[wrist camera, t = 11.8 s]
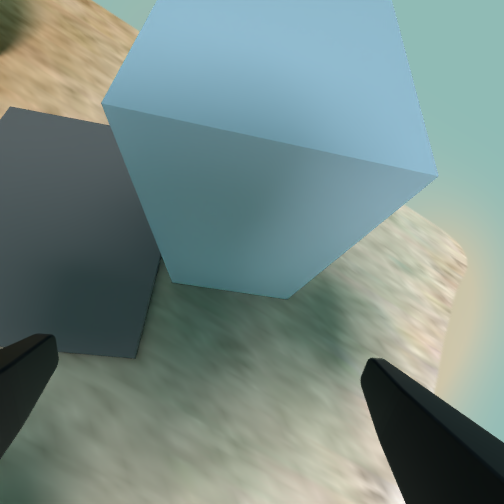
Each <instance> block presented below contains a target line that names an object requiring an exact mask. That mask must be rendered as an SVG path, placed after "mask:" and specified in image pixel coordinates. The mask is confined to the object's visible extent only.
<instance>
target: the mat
mask: <svg viewBox="0 0 504 504" xmlns="http://www.w3.org/2000/svg"><path fill="white" fill-rule="evenodd" d="M160 260H161V253H160V250H159V248H158V245H157V243H156V240H155V238H154V235H153V233H152V230H151V228H150V225H149V223H148V220H147V218H146V215H145V213H144V210H143V208H142V205H141V202H140V200H139V197H138V195H137V192H136V190H135V187H134V185H133V182H132V180H131V177H130V175H129V172H128V170H127V167H126V165H125V162H124V160H123V157H122V154H121V152H120V149H119V147H118V144H117V142H116V139H115V137H114V134H113V132H112V129H111V127H110V126H109V125H104V124H99V123H94V122H89V121H83V120H78V119H73V118H68V117H62V116H57V115H52V114H47V113H41V112H36V111H31V110H26V109H21V108H15V107H9V109H8V110H7V111H6V113H5V114H4V115H3V117H2V118H1V120H0V347H6V346H9V345H11V344H13V343H15V342H18V341H20V340H22V339H24V338H26V337H29V336H31V335H33V334H36V333H43V334H52V335H54V336H55V337H56V342H57V349H58V352H67V353H78V354H89V355H100V356H112V357H123V358H134V359H136V355H137V351H138V347H139V343H140V339H141V335H142V331H143V327H144V323H145V319H146V315H147V311H148V307H149V303H150V299H151V295H152V291H153V287H154V283H155V279H156V275H157V272H158V268H159V264H160Z"/></svg>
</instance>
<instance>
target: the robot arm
mask: <svg viewBox="0 0 504 504" xmlns="http://www.w3.org/2000/svg"><path fill="white" fill-rule="evenodd" d="M58 360H59V357H58V349H57V342H56V337H55V336H54V335H52V334H43V333H36V334H33V335H31V336H29V337H26V338H24V339H22V340H20V341H18V342H15V343H13V344H11V345H9V346H6V347H4V348H2V349H0V459H1V457H2V456H3V454H4V453H5V452H6V450H7V449H8V447H9V446H10V444H11V443H12V441H13V440H14V438H15V437H16V435H17V434H18V432H19V431H20V429H21V428H22V426H23V425H24V423H25V421H26V420H27V418H28V416H29V415H30V413H31V411H32V409H33V408H34V406H35V404H36V402H37V401H38V399H39V397H40V395H41V394H42V392H43V390H44V388H45V387H46V385H47V383H48V381H49V380H50V378H51V376H52V374H53V373H54V371H55V369H56V367H57V365H58ZM361 387H362V390H363V393H364V396H365V399H366V402H367V405H368V408H369V411H370V414H371V418H372V421H373V424H374V427H375V430H376V433H377V436H378V438H379V441H380V444H381V446H382V449H383V451H384V453H385V456H386V458H387V461H388V463H389V465H390V468H391V470H392V472H393V475H394V477H395V479H396V482H397V484H398V487H399V489H400V491H401V494H402V496H403V498H404V501H405V503H406V504H504V443H503V442H502V441H500V440H499V439H498V438H496V437H495V436H493V435H492V434H490V433H489V432H488V431H486V430H485V429H483V428H482V427H480V426H479V425H478V424H476V423H475V422H473V421H472V420H470V419H469V418H468V417H466V416H465V415H463V414H461V413H460V412H459V411H458V410H456V409H454V408H453V407H451V406H450V405H449V404H448V403H446V402H445V401H443V400H442V399H440V398H439V397H438V396H436V395H435V394H433V393H432V392H430V391H429V390H428V389H426V388H425V387H423V386H422V385H420V384H419V383H418V382H416V381H415V380H413V379H412V378H410V377H409V376H408V375H406V374H405V373H403V372H402V371H400V370H399V369H398V368H396V367H395V366H393V365H392V364H390V363H389V362H388V361H386V360H385V359H382V358H370V359H368V361H367V363H366V366H365V368H364V371H363V373H362V376H361Z"/></svg>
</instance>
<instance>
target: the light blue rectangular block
mask: <svg viewBox="0 0 504 504" xmlns="http://www.w3.org/2000/svg"><path fill="white" fill-rule="evenodd" d="M101 104H102V106H103V109H104V112H105V114H106V117H107V119H108V122H109V124H110V127H111V129H112V132H113V134H114V137H115V139H116V142H117V144H118V147H119V149H120V152H121V154H122V157H123V160H124V162H125V165H126V167H127V170H128V172H129V175H130V177H131V180H132V182H133V185H134V187H135V190H136V192H137V195H138V197H139V200H140V202H141V205H142V208H143V210H144V213H145V215H146V218H147V220H148V223H149V225H150V228H151V230H152V233H153V235H154V238H155V240H156V243H157V245H158V248H159V250H160V253H161V256H162V258H163V261H164V263H165V266H166V268H167V271H168V273H169V276H170V278H171V281H172V283H179V284H186V285H193V286H199V287H206V288H213V289H220V290H226V291H233V292H240V293H247V294H254V295H260V296H267V297H274V298H281V299H288V298H289V297H291V296H292V295H293V294H294V293H296V292H297V291H298V290H299V289H300V288H302V287H303V286H304V285H305V284H307V283H308V282H309V281H310V280H312V279H313V278H314V277H315V276H316V275H318V274H319V273H320V272H321V271H323V270H324V269H325V268H326V267H328V266H329V265H330V264H331V263H332V262H334V261H335V260H336V259H337V258H339V257H340V256H341V255H342V254H344V253H345V252H346V251H347V250H348V249H350V248H351V247H352V246H353V245H355V244H356V243H357V242H358V241H360V240H361V239H362V238H363V237H364V236H366V235H367V234H368V233H369V232H371V231H372V230H373V229H374V228H376V227H377V226H378V225H379V224H380V223H382V222H383V221H384V220H385V219H387V218H388V217H389V216H390V215H392V214H393V213H394V212H395V211H396V210H398V209H399V208H400V207H401V206H403V205H404V204H405V203H406V202H407V201H409V200H410V199H411V198H412V197H414V196H415V195H416V194H417V193H419V192H420V191H421V190H422V189H423V188H425V187H426V186H427V185H428V184H430V183H431V182H432V181H433V180H434V179H436V178H437V177H438V172H437V168H436V165H435V161H434V157H433V154H432V150H431V146H430V142H429V139H428V135H427V131H426V128H425V123H424V120H423V116H422V112H421V108H420V105H419V101H418V97H417V93H416V90H415V86H414V82H413V79H412V75H411V71H410V67H409V63H408V60H407V56H406V52H405V48H404V45H403V41H402V37H401V33H400V30H399V26H398V22H397V18H396V15H395V11H394V7H393V4H392V0H157V1H156V3H155V5H154V7H153V9H152V11H151V12H150V14H149V16H148V18H147V20H146V22H145V23H144V25H143V27H142V29H141V31H140V33H139V34H138V36H137V38H136V40H135V42H134V44H133V46H132V47H131V49H130V51H129V53H128V55H127V57H126V59H125V60H124V62H123V64H122V66H121V68H120V70H119V71H118V73H117V75H116V77H115V79H114V81H113V83H112V84H111V86H110V88H109V90H108V92H107V94H106V95H105V97H104V99H103V101H102V103H101Z"/></svg>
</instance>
